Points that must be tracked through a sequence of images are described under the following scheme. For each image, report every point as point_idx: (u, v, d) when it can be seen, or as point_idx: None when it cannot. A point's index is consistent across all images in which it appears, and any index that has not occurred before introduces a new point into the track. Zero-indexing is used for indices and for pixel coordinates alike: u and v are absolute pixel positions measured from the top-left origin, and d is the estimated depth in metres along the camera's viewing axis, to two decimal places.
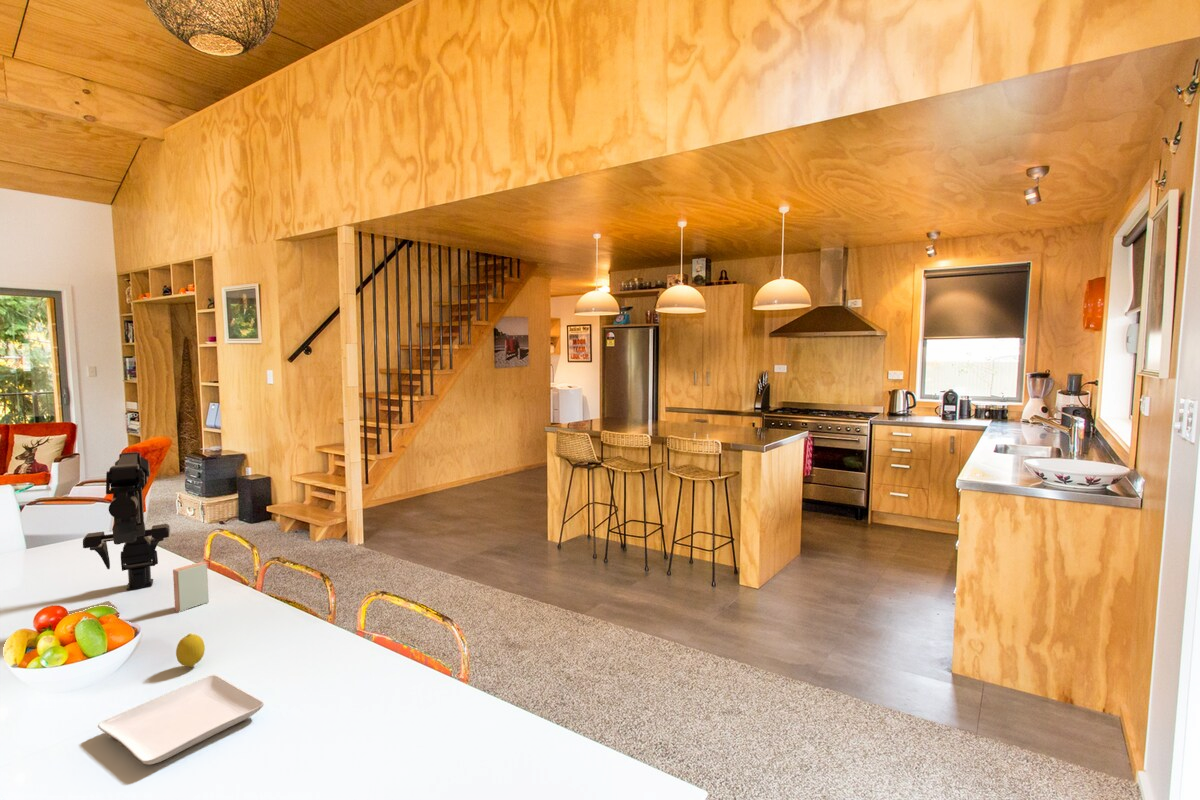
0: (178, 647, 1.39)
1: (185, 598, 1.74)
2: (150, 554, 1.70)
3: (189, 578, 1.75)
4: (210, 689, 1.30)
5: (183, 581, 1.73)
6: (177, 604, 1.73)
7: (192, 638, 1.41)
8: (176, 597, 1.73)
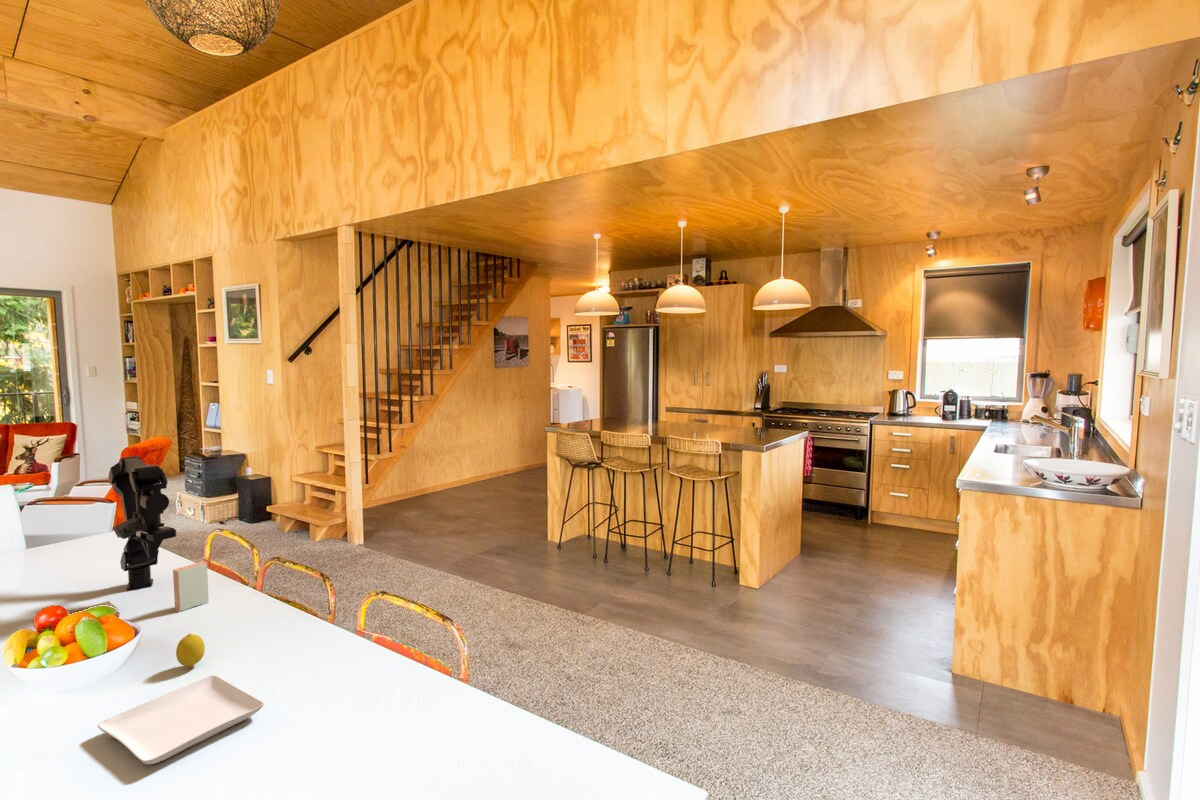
0: (178, 647, 1.39)
1: (185, 598, 1.74)
2: (147, 551, 1.82)
3: (189, 578, 1.75)
4: (210, 690, 1.30)
5: (183, 581, 1.73)
6: (177, 604, 1.73)
7: (192, 638, 1.41)
8: (176, 597, 1.73)
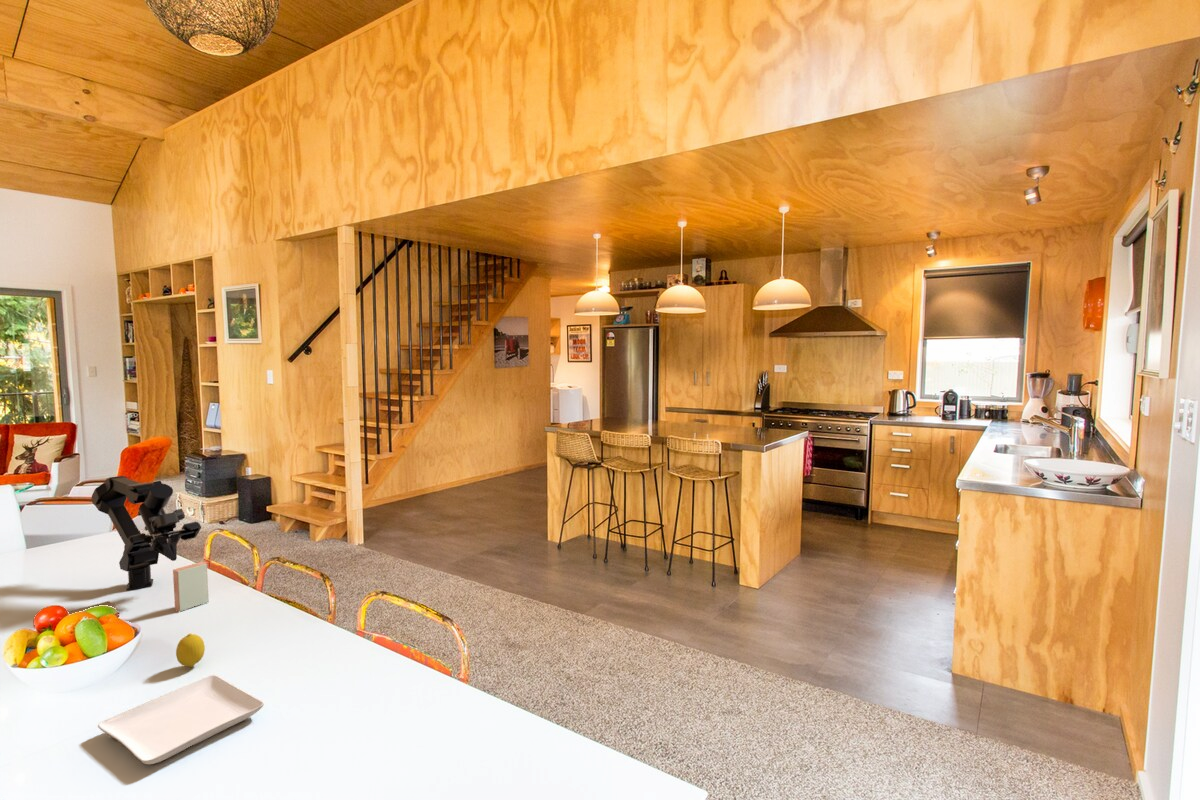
0: (178, 647, 1.39)
1: (185, 598, 1.74)
2: (174, 550, 1.81)
3: (189, 578, 1.75)
4: (210, 690, 1.30)
5: (183, 581, 1.73)
6: (177, 604, 1.73)
7: (192, 638, 1.41)
8: (176, 597, 1.73)
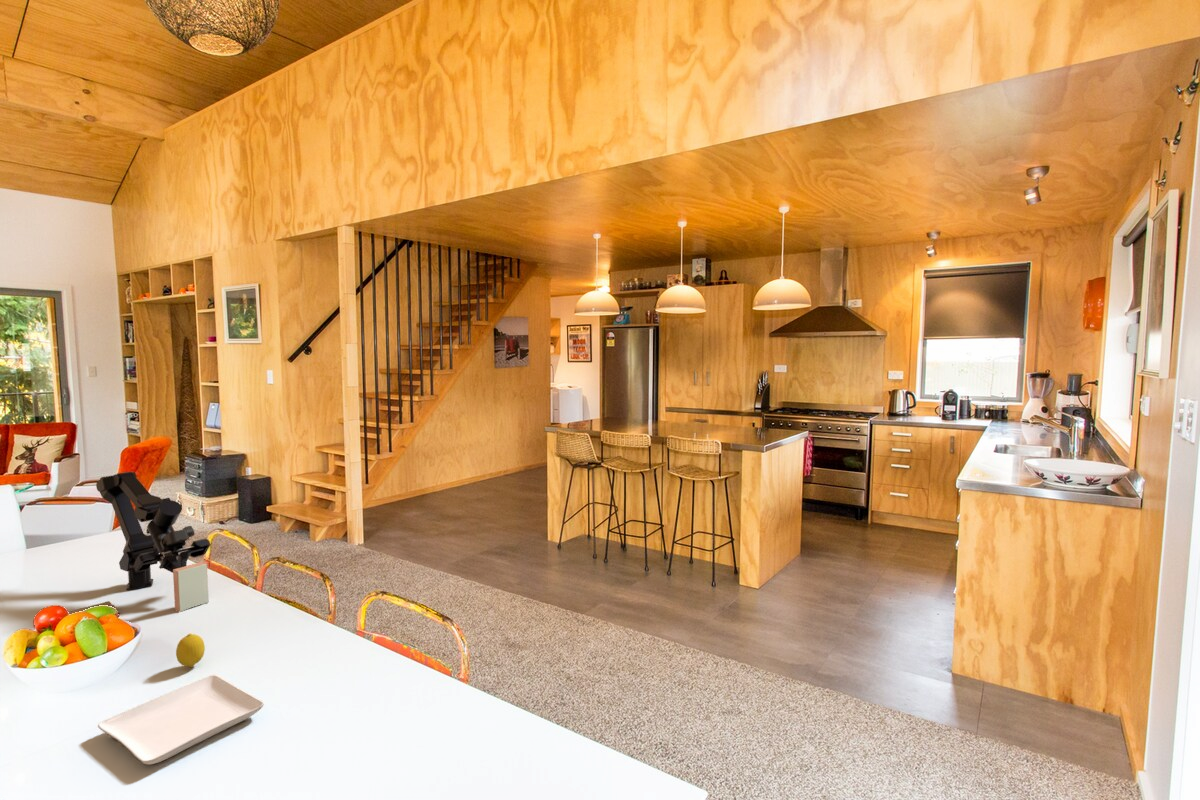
0: (178, 647, 1.39)
1: (185, 598, 1.74)
2: None
3: (189, 578, 1.75)
4: (210, 690, 1.30)
5: (183, 581, 1.73)
6: (177, 604, 1.73)
7: (192, 638, 1.41)
8: (176, 597, 1.73)
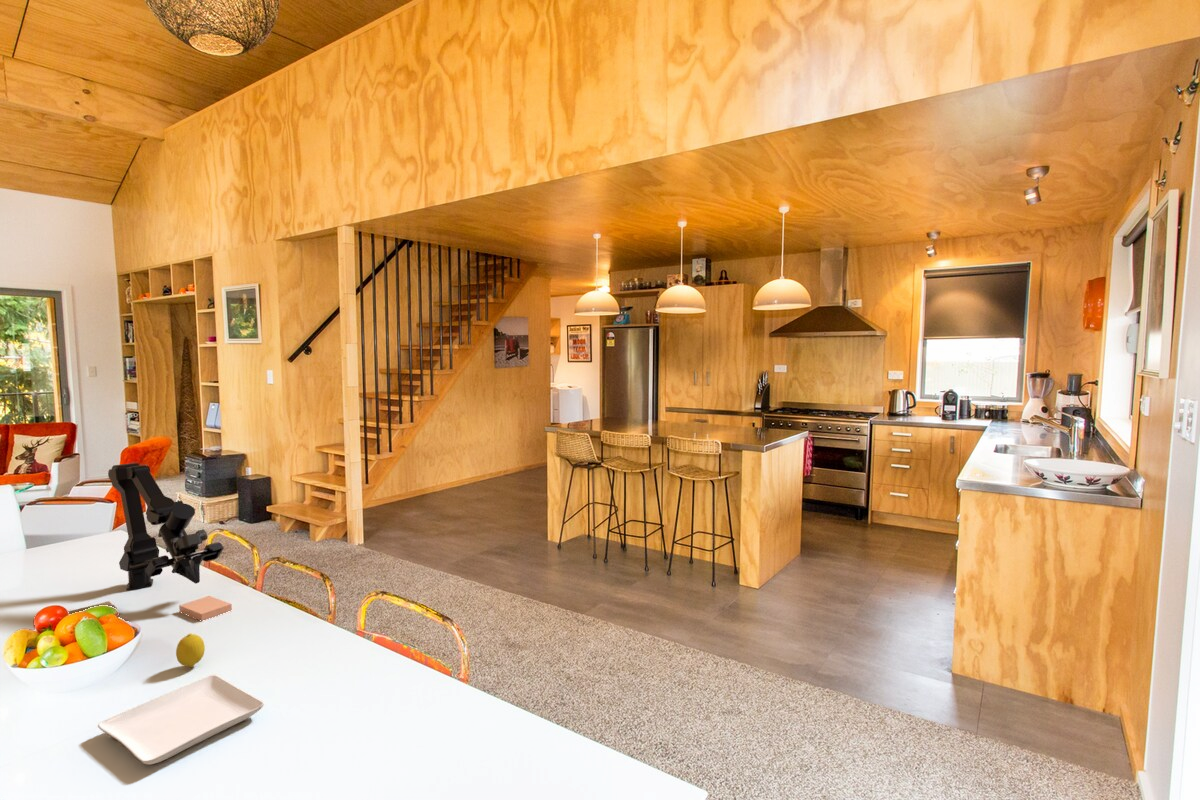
0: (178, 647, 1.39)
1: None
2: (196, 572, 1.75)
3: None
4: (210, 690, 1.30)
5: None
6: (183, 611, 1.72)
7: (192, 638, 1.41)
8: (186, 612, 1.71)
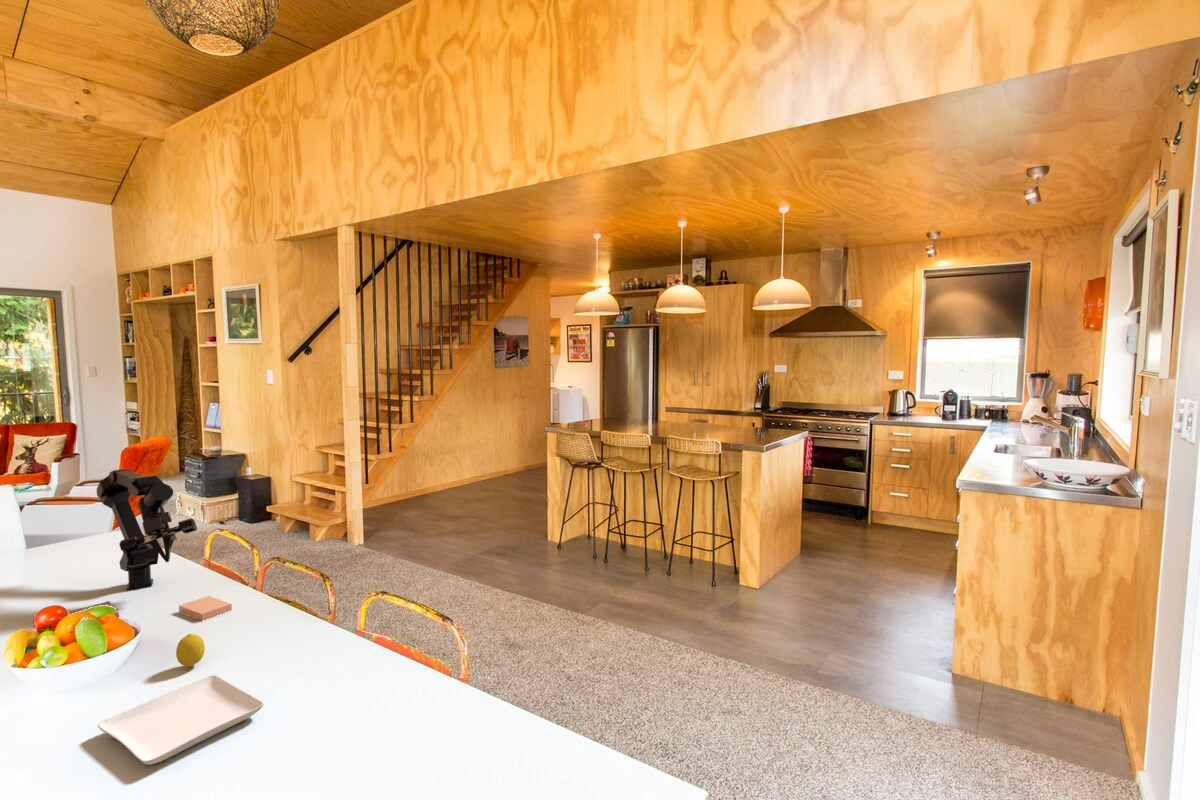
0: (178, 647, 1.39)
1: None
2: (166, 552, 1.81)
3: None
4: (210, 690, 1.30)
5: None
6: (183, 611, 1.71)
7: (192, 638, 1.41)
8: (186, 612, 1.71)
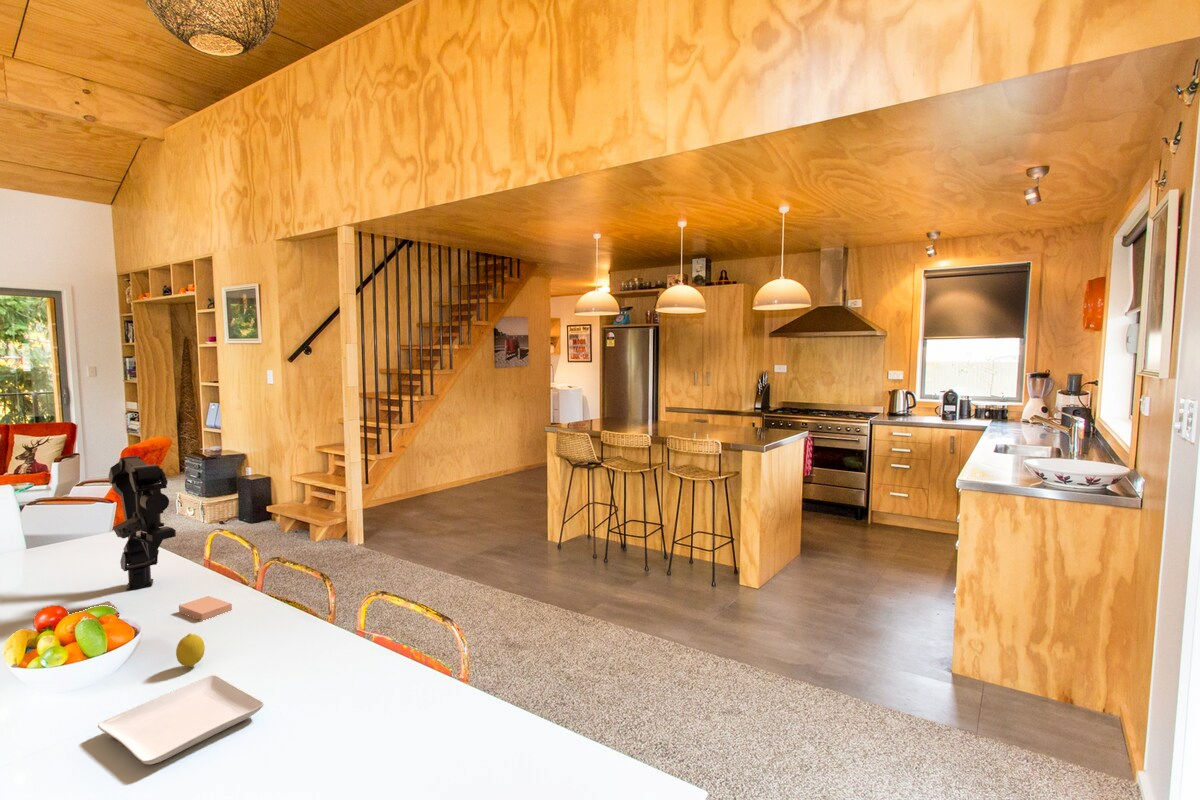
0: (178, 647, 1.39)
1: None
2: (147, 550, 1.82)
3: None
4: (210, 690, 1.30)
5: None
6: (183, 611, 1.71)
7: (192, 638, 1.41)
8: (186, 612, 1.71)
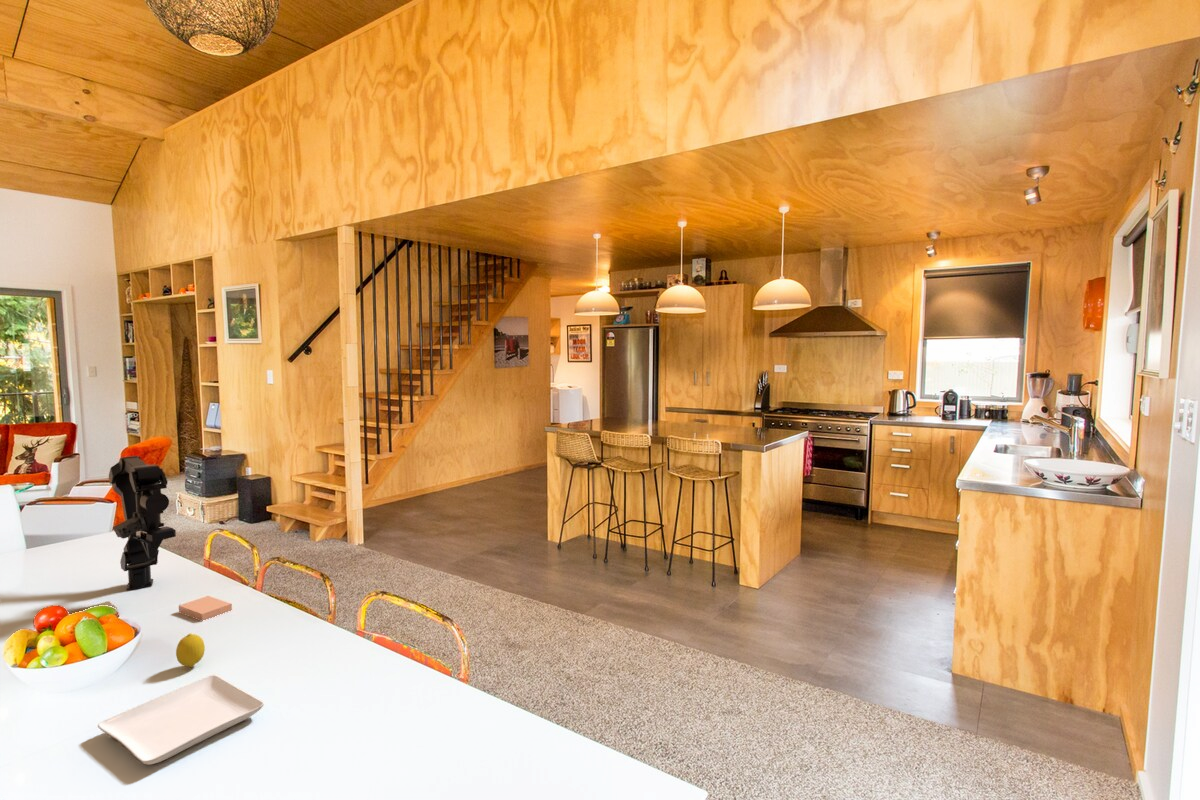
0: (178, 647, 1.39)
1: None
2: (147, 550, 1.82)
3: None
4: (210, 690, 1.30)
5: None
6: (183, 611, 1.71)
7: (192, 638, 1.41)
8: (186, 612, 1.70)
